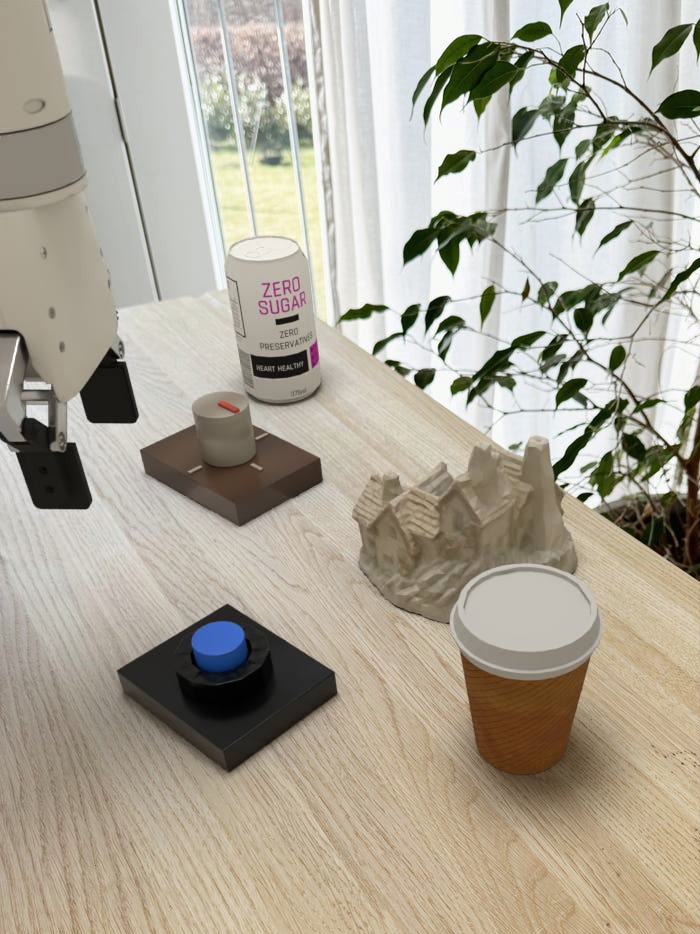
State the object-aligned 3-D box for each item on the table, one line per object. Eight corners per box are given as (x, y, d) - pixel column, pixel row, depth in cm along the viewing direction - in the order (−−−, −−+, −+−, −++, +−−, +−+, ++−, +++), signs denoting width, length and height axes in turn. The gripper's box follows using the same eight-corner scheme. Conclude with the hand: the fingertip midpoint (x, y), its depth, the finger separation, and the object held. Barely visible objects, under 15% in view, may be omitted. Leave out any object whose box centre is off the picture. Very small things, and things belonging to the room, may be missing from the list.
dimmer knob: (190, 454, 93) (179, 402, 90) (233, 434, 96) (223, 382, 92) (225, 473, 91) (214, 420, 87) (267, 451, 93) (259, 399, 90)
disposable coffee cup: (424, 734, 70) (417, 599, 62) (526, 674, 74) (532, 541, 66) (515, 817, 64) (521, 680, 56) (619, 746, 69) (638, 611, 61)
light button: (185, 658, 70) (180, 639, 69) (226, 632, 72) (222, 614, 71) (217, 681, 68) (213, 662, 67) (258, 654, 71) (255, 635, 69)
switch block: (123, 692, 73) (109, 651, 70) (231, 624, 79) (223, 584, 76) (228, 773, 67) (218, 731, 64) (338, 693, 73) (332, 652, 70)
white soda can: (278, 364, 113) (258, 227, 103) (337, 382, 109) (322, 242, 100) (229, 394, 107) (203, 252, 98) (289, 413, 104) (269, 269, 94)
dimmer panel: (145, 472, 95) (138, 448, 94) (228, 432, 101) (223, 408, 99) (239, 527, 89) (235, 501, 87) (323, 480, 94) (320, 456, 93)
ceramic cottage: (604, 564, 84) (605, 399, 74) (456, 657, 76) (436, 486, 67) (481, 498, 93) (467, 344, 84) (338, 575, 86) (305, 415, 76)
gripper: (-8, 111, 56) (74, 393, 67) (-161, 217, 43) (-28, 545, 54) (127, 112, 56) (186, 394, 67) (14, 218, 43) (111, 546, 54)
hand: (90, 461), depth 60 cm, fingers open, 9 cm apart
